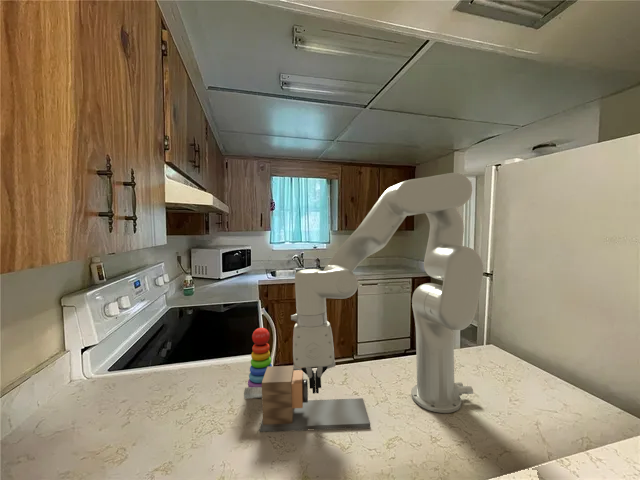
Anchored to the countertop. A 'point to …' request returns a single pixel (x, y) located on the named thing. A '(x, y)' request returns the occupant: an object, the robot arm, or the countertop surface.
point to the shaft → (257, 391)
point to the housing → (305, 407)
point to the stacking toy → (259, 357)
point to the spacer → (297, 389)
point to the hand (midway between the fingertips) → (315, 390)
